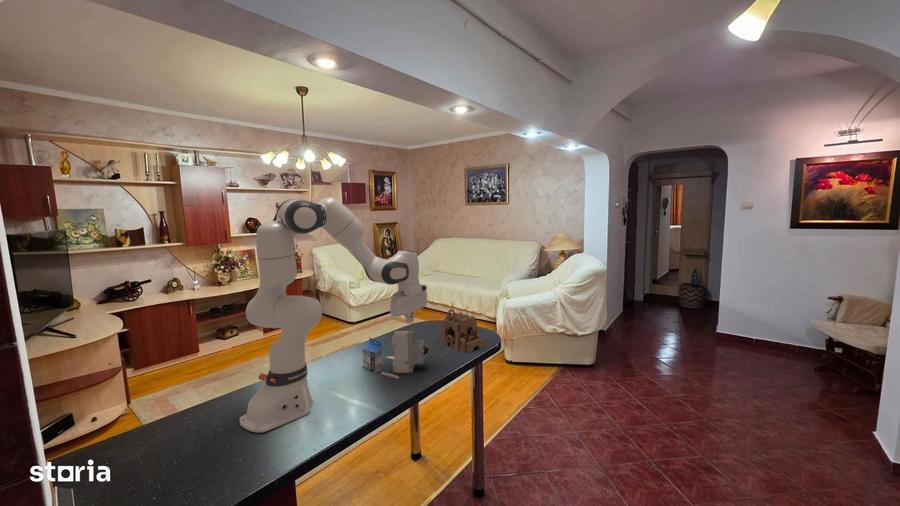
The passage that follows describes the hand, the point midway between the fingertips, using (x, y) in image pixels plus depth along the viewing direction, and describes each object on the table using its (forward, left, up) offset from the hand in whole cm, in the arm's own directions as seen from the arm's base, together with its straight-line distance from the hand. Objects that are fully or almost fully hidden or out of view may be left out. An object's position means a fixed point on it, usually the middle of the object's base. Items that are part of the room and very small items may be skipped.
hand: (410, 321), depth 147 cm
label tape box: (-8, +14, -20) cm, 26 cm away
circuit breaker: (0, 0, -20) cm, 20 cm away
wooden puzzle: (+35, -3, -20) cm, 41 cm away
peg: (-10, +3, -20) cm, 23 cm away
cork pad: (+7, +14, -20) cm, 25 cm away
